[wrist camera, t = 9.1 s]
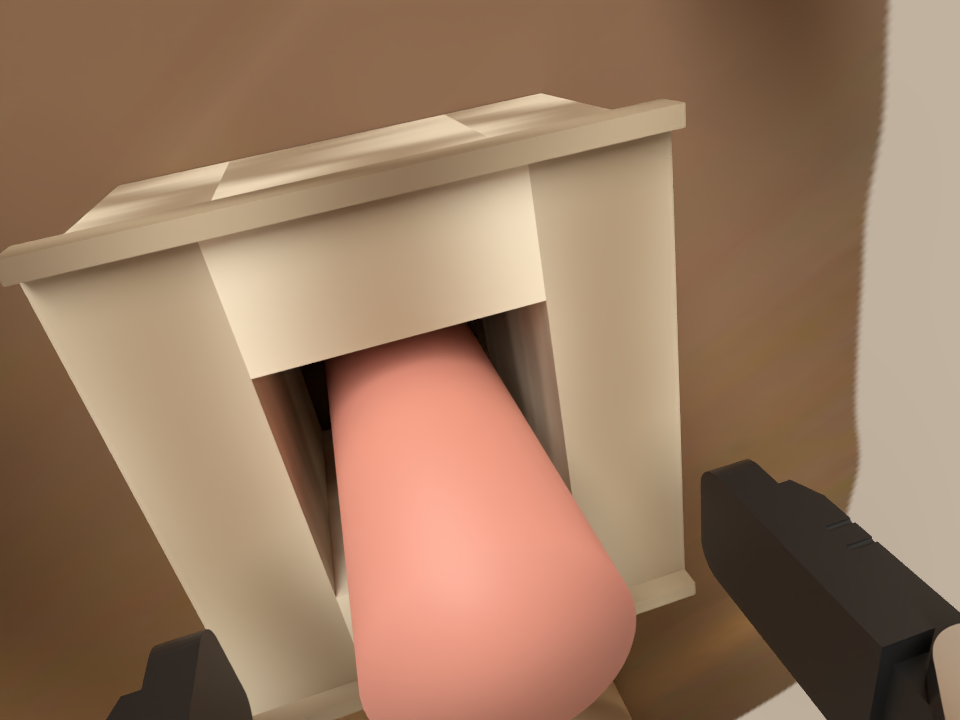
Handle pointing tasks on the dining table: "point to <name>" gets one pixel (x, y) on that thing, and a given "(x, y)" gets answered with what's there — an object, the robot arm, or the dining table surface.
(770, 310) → the dining table surface
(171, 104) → the dining table surface
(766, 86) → the dining table surface
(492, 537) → the long dowel
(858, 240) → the dining table surface
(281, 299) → the hole block
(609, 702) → the short dowel
